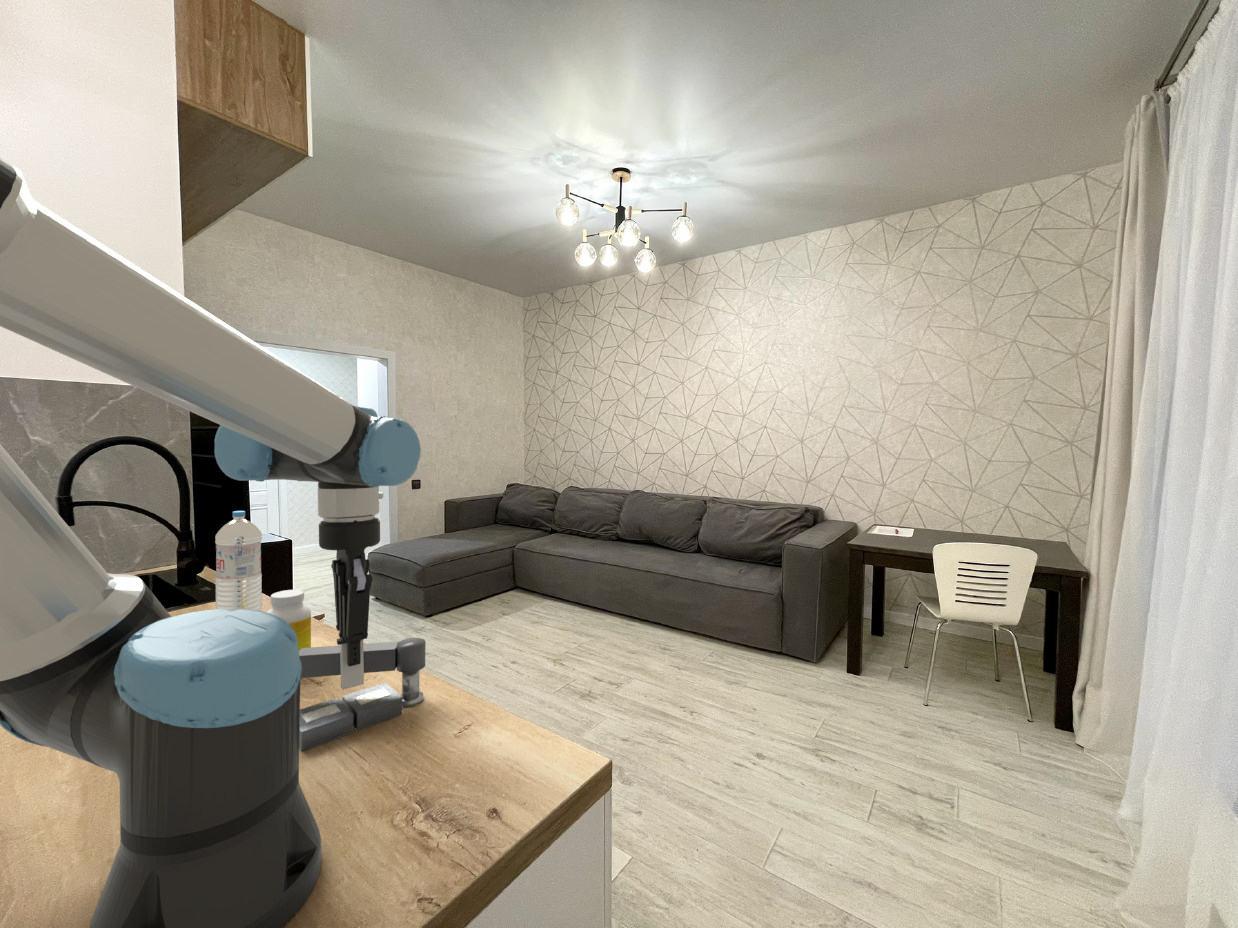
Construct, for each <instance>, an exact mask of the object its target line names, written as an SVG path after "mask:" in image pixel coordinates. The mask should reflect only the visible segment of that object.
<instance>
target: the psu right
mask: <svg viewBox="0 0 1238 928" xmlns="http://www.w3.org/2000/svg"><path fill="white" fill-rule="evenodd" d="M400 695H401V694H399V693H398V692H397V691H396V690H395V689H394V688H393V687H391V685H390V684H388V683H387V682H383V683H380V684H377V685H373V686H371V687H366V688H364V689H361V690H358V691H355V692H351V693H348V694H345V695H342V696H341V697H342V700H341V701H342V702H343V703H344V704H345V705H346V706H347V708H348V709H349V710H350V711H351V712H352V713H353V729H355V731H357V732H358V731H361V730H363V729H367V728H369V727H372V726H375V725H377V724H381V723H384V722H385V721H388V720H391V719H394V718H398V717H400V716H402V715H403V706H402V697H401V696H400Z"/></svg>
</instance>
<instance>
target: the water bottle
mask: <svg viewBox="0 0 1238 928" xmlns="http://www.w3.org/2000/svg"><path fill="white" fill-rule="evenodd" d="M232 518H233V519H232V520H230V521H228V522H227V523H226V524H224V525H223V526H222V527H221V528H220V529H219V530H218V531H217V533H216V534H215V538H214V539H215V541H214V543H215V550H216V551H215V552H216V555H215V556H216V557H215V560H216V561H215V562H216V563H215V564H216V565H215V566H216V568H215V569H216V571H215V573H216V574H215V575H216V578H215V609H226V610H227V611H235V610H238V609H249V610H257V611H262V612H263V607H262V605H263V603H262V602H263V601H262V600H263V599H262V597H263V594H262V591H263V589H262V580H263V579H262V576H263V575H262V549H261V548H262V547H261V546H262V539H263V538H262V536H263V535H262V532H261V530H260V529H259V527H258V526H257V525H255V524H254V522H253V523H252V522H251V521H250V520H247V519H246V511H245V510H235V511H232Z"/></svg>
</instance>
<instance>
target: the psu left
mask: <svg viewBox="0 0 1238 928" xmlns="http://www.w3.org/2000/svg"><path fill="white" fill-rule="evenodd" d="M339 697H340V696H339ZM339 697H336V698H332V699H329V700H326V701H323V702H320V703H317V704H312V705H310V706H307V707H305V708H300V730H299V751H301V752H304V751H306V750H310V749H312V748H314V747H317V746H318V747H319V746H320V745H323V744H326V743H328V742H332V741H334V740H336V739H339V738H343V737H344V736H347V735H348V736H349V735H350V734H353V733H354V727H353V713H352V712H351V711H350V710H349V709H348V708H347V706H346V705H345V704H344V703H343V702H342V700H341V699H340V698H339Z"/></svg>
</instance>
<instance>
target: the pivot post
mask: <svg viewBox="0 0 1238 928" xmlns="http://www.w3.org/2000/svg"><path fill="white" fill-rule="evenodd" d="M401 676H402V677H401V686H402V687H401V694H399V695H400V696H401V697H402V708H404V707H406V708H407V707H414V706H417V705H419V704H420V703H422V702H423V701H424V693H423V692H422V691H420V670H419V671H415V672H410V673H403V672H401Z"/></svg>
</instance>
